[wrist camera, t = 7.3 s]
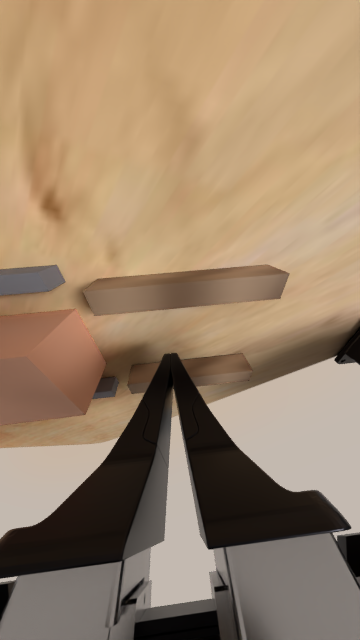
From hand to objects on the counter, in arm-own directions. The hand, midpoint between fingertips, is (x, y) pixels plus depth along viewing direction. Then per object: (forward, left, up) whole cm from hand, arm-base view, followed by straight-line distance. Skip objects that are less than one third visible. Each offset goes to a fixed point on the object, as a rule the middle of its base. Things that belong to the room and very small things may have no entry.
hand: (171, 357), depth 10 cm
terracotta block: (+9, 0, -3) cm, 10 cm away
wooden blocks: (-1, 0, -3) cm, 3 cm away
